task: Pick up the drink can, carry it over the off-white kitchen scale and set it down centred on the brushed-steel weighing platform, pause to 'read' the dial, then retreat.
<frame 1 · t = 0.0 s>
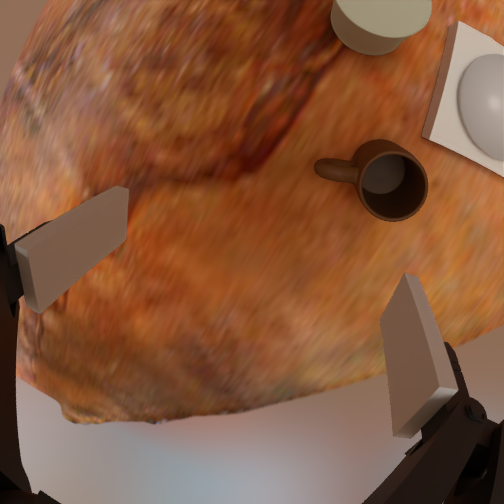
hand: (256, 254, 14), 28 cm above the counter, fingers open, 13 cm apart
can: (368, 21, 29), on the counter
scale: (488, 105, 30), on the counter
mug: (362, 164, 38), on the counter
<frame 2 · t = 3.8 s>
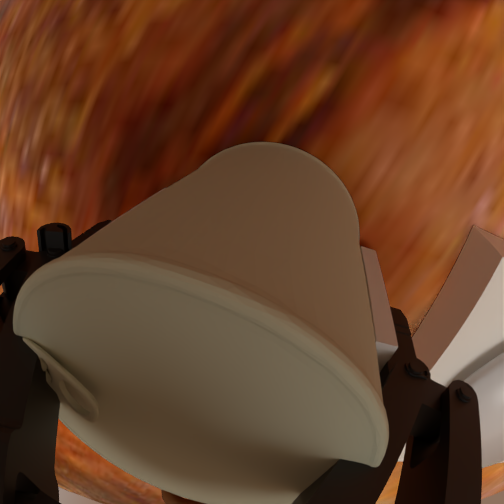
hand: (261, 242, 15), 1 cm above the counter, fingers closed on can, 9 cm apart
can: (266, 232, 16), on the counter, touching gripper
scale: (496, 364, 17), on the counter
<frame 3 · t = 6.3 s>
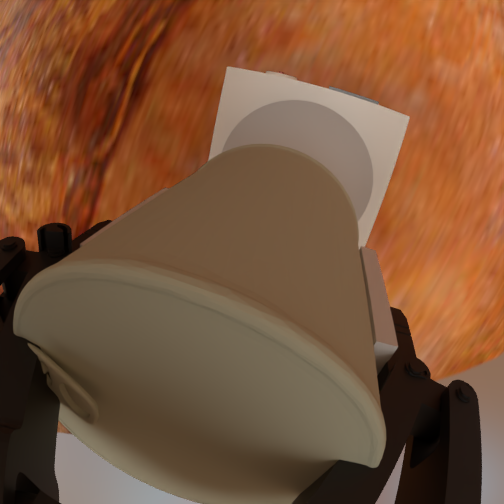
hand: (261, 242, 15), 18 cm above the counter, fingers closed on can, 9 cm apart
can: (265, 234, 16), point 17 cm above the counter, touching gripper
scale: (299, 166, 31), on the counter
when the fingers open (7 cm above the counter, at t = 9.1 s): can drops 1 cm, resting on scale.
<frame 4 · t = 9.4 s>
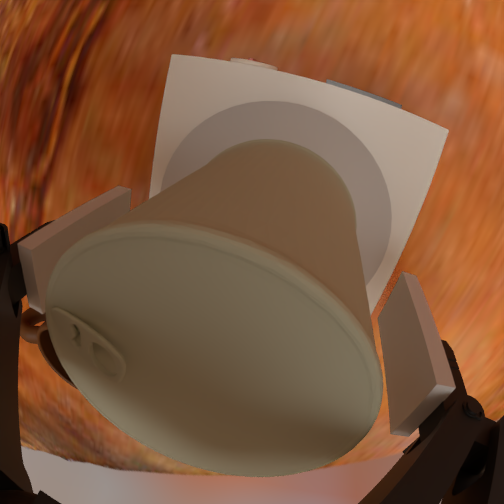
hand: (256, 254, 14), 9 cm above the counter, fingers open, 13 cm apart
can: (269, 223, 18), point 5 cm above the counter, touching scale
scale: (282, 197, 22), on the counter
mug: (107, 293, 30), on the counter
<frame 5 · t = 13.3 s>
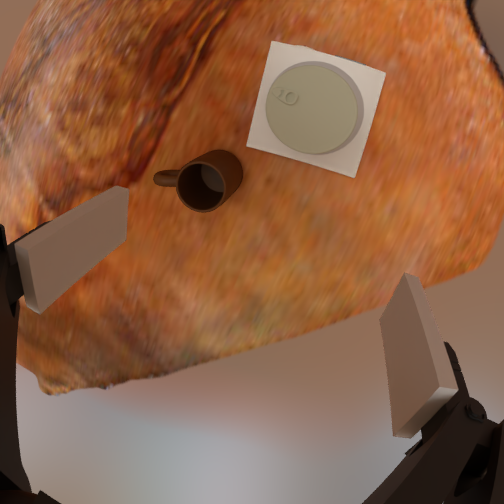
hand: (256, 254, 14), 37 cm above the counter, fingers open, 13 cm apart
can: (314, 107, 39), point 5 cm above the counter, touching scale
scale: (315, 107, 43), on the counter
mug: (208, 170, 52), on the counter
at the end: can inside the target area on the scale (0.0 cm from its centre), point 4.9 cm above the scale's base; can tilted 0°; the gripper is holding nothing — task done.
